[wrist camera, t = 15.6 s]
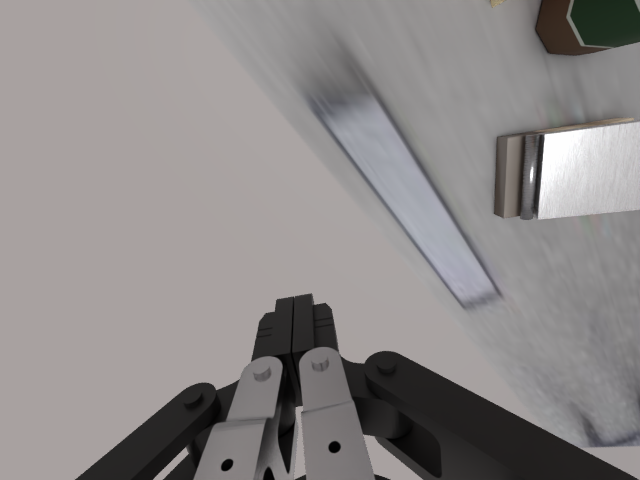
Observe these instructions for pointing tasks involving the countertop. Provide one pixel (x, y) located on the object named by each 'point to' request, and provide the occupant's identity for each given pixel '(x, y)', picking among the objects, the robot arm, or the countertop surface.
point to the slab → (582, 171)
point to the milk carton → (496, 2)
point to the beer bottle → (588, 25)
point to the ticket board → (520, 167)
